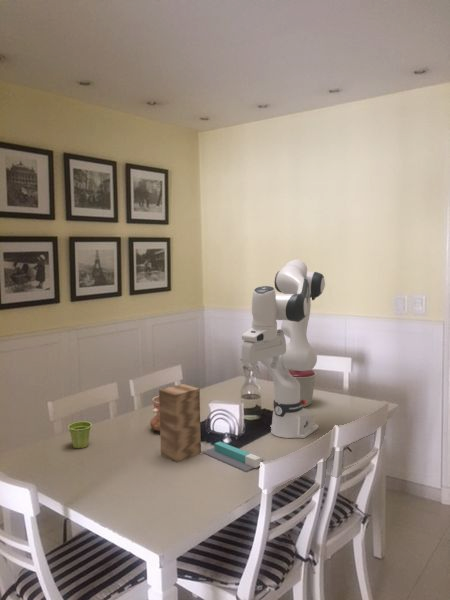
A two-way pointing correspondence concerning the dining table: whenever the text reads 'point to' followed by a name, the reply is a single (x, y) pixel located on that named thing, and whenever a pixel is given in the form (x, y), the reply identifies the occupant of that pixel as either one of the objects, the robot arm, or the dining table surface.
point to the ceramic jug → (156, 420)
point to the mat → (229, 460)
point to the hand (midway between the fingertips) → (265, 370)
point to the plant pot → (80, 434)
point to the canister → (305, 384)
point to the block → (237, 454)
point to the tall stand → (180, 422)
